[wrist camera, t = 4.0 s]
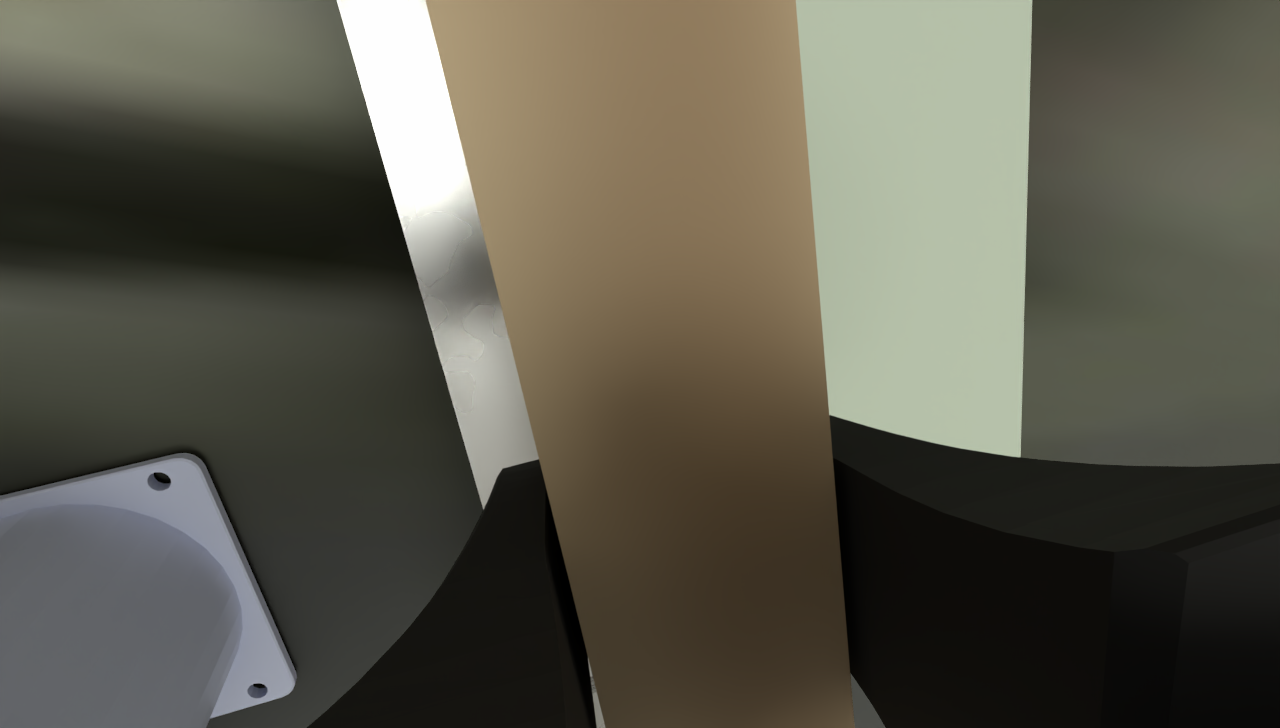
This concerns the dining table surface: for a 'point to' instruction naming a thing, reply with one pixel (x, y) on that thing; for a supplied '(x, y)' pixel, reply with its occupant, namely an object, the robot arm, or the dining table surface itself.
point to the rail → (666, 340)
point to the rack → (442, 232)
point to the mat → (921, 211)
